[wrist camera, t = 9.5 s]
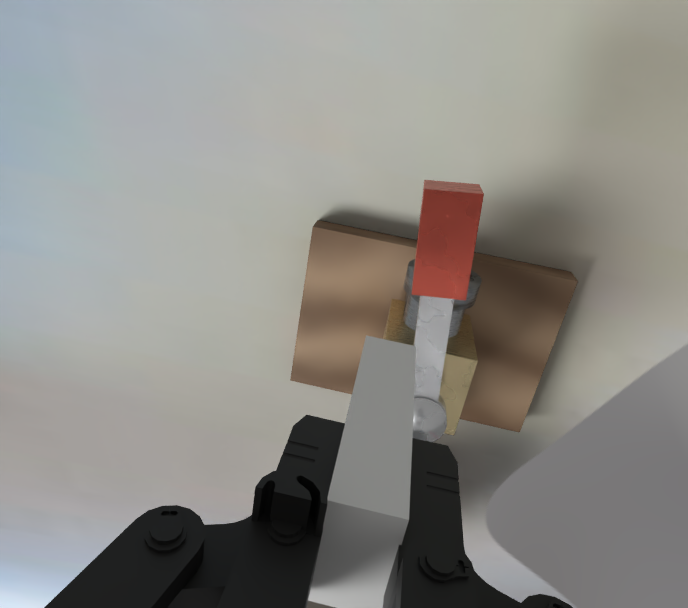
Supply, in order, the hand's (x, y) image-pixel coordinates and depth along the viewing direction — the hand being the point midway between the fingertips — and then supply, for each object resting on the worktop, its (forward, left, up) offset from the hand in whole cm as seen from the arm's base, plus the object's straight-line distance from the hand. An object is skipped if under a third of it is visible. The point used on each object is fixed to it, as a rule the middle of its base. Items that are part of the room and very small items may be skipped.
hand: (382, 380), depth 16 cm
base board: (-10, -3, -26) cm, 28 cm away
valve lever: (-4, -3, -14) cm, 15 cm away
